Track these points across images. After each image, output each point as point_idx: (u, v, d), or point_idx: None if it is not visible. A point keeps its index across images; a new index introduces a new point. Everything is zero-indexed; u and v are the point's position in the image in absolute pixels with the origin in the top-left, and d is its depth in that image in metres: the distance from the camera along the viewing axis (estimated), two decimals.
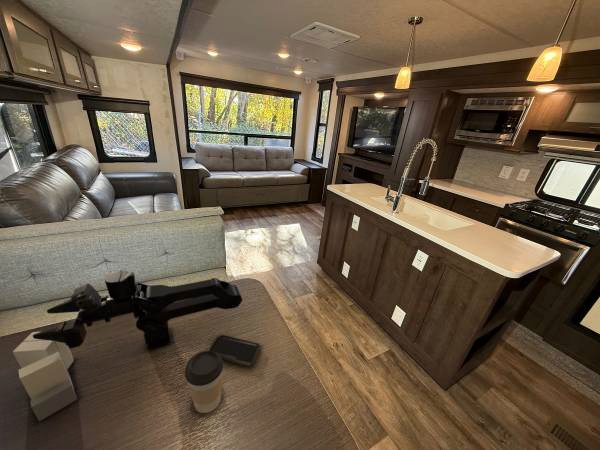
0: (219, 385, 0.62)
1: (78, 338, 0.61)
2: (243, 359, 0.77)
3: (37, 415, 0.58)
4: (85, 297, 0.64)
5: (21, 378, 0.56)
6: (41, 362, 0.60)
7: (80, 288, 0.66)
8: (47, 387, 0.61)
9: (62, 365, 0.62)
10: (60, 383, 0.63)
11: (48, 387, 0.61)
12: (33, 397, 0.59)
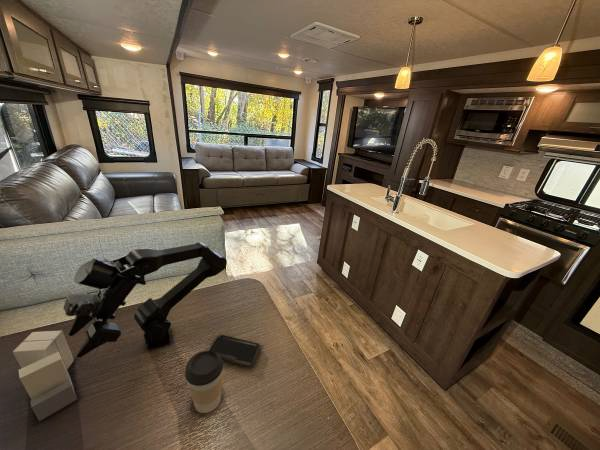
0: (219, 385, 0.62)
1: (111, 332, 0.61)
2: (243, 359, 0.77)
3: (37, 415, 0.58)
4: (77, 306, 0.58)
5: (21, 378, 0.56)
6: (41, 362, 0.60)
7: (66, 303, 0.60)
8: (47, 387, 0.61)
9: (62, 365, 0.62)
10: (60, 383, 0.63)
11: (48, 387, 0.61)
12: (33, 397, 0.59)
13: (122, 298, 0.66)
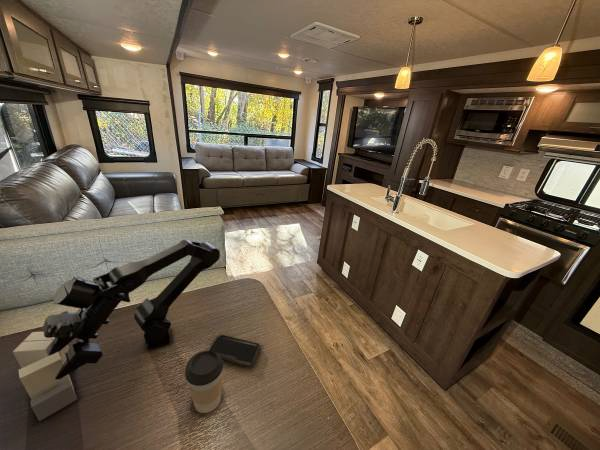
0: (219, 385, 0.62)
1: (92, 353, 0.59)
2: (243, 359, 0.77)
3: (37, 415, 0.58)
4: (56, 327, 0.57)
5: (21, 378, 0.56)
6: (41, 362, 0.60)
7: (45, 324, 0.58)
8: (47, 387, 0.61)
9: (62, 365, 0.62)
10: (60, 383, 0.63)
11: (48, 387, 0.61)
12: (33, 397, 0.59)
13: (105, 317, 0.64)
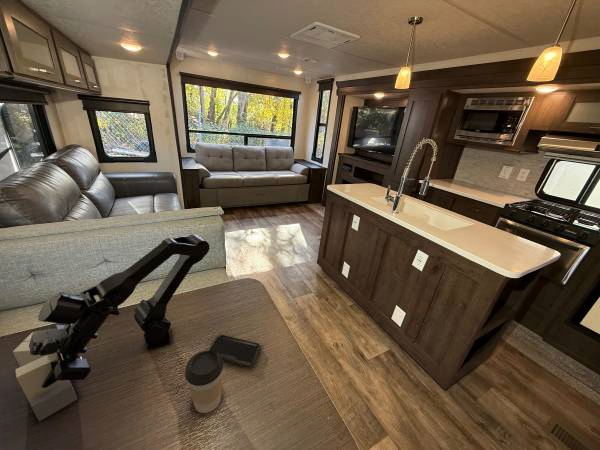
0: (219, 385, 0.62)
1: (79, 370, 0.58)
2: (243, 359, 0.77)
3: (37, 415, 0.58)
4: (42, 345, 0.56)
5: (18, 377, 0.56)
6: (38, 361, 0.59)
7: (31, 341, 0.57)
8: None
9: None
10: (57, 383, 0.62)
11: None
12: (30, 397, 0.59)
13: (93, 331, 0.63)
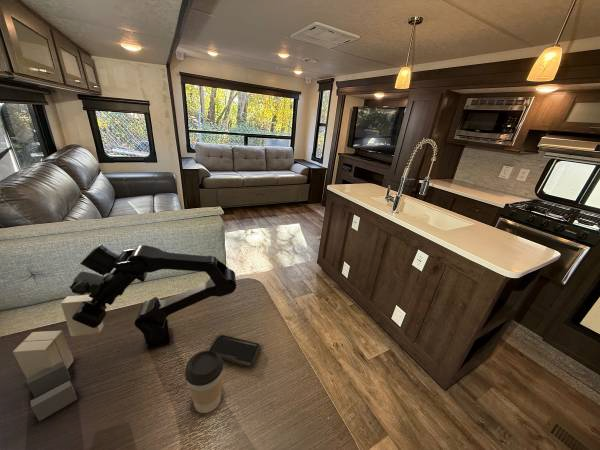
0: (219, 385, 0.62)
1: (90, 318, 0.63)
2: (243, 359, 0.77)
3: (37, 415, 0.58)
4: (76, 284, 0.64)
5: (61, 303, 0.67)
6: (80, 297, 0.70)
7: None
8: None
9: None
10: None
11: None
12: (69, 324, 0.70)
13: (118, 288, 0.69)
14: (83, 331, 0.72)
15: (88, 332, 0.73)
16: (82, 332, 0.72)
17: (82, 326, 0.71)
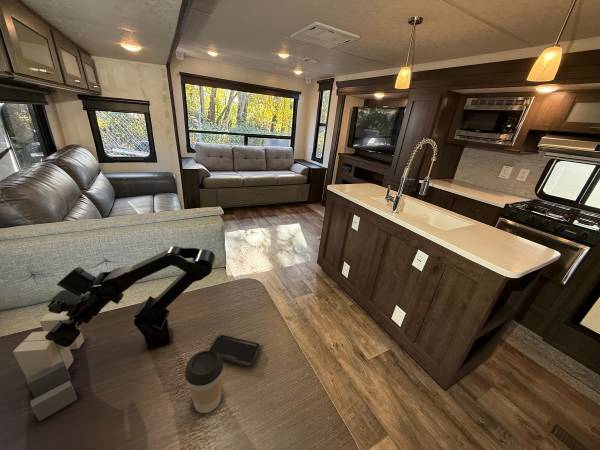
0: (219, 385, 0.62)
1: (61, 338, 0.66)
2: (243, 359, 0.77)
3: (37, 415, 0.58)
4: (53, 303, 0.68)
5: (40, 321, 0.71)
6: (59, 315, 0.73)
7: None
8: None
9: None
10: None
11: None
12: None
13: (93, 309, 0.71)
14: None
15: None
16: None
17: None
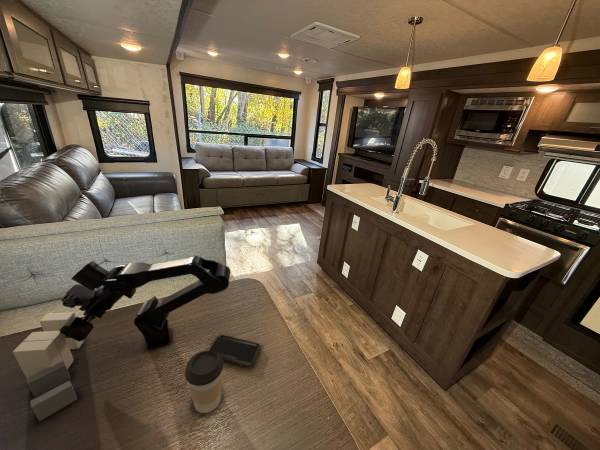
0: (219, 385, 0.62)
1: (76, 332, 0.66)
2: (243, 359, 0.77)
3: (37, 415, 0.58)
4: (67, 297, 0.68)
5: (40, 321, 0.71)
6: (59, 315, 0.73)
7: None
8: None
9: None
10: (67, 338, 0.74)
11: None
12: None
13: (106, 304, 0.71)
14: None
15: None
16: None
17: None
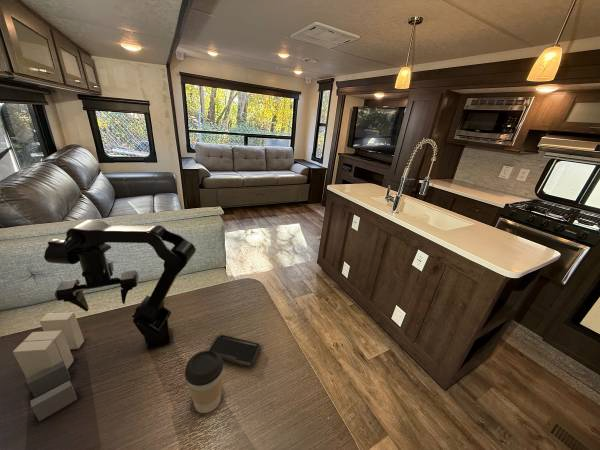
0: (219, 385, 0.62)
1: (57, 288, 0.68)
2: (243, 359, 0.77)
3: (37, 415, 0.58)
4: None
5: (40, 321, 0.71)
6: (59, 315, 0.73)
7: None
8: None
9: (68, 325, 0.73)
10: (67, 338, 0.74)
11: None
12: None
13: (81, 267, 0.68)
14: None
15: None
16: None
17: None
